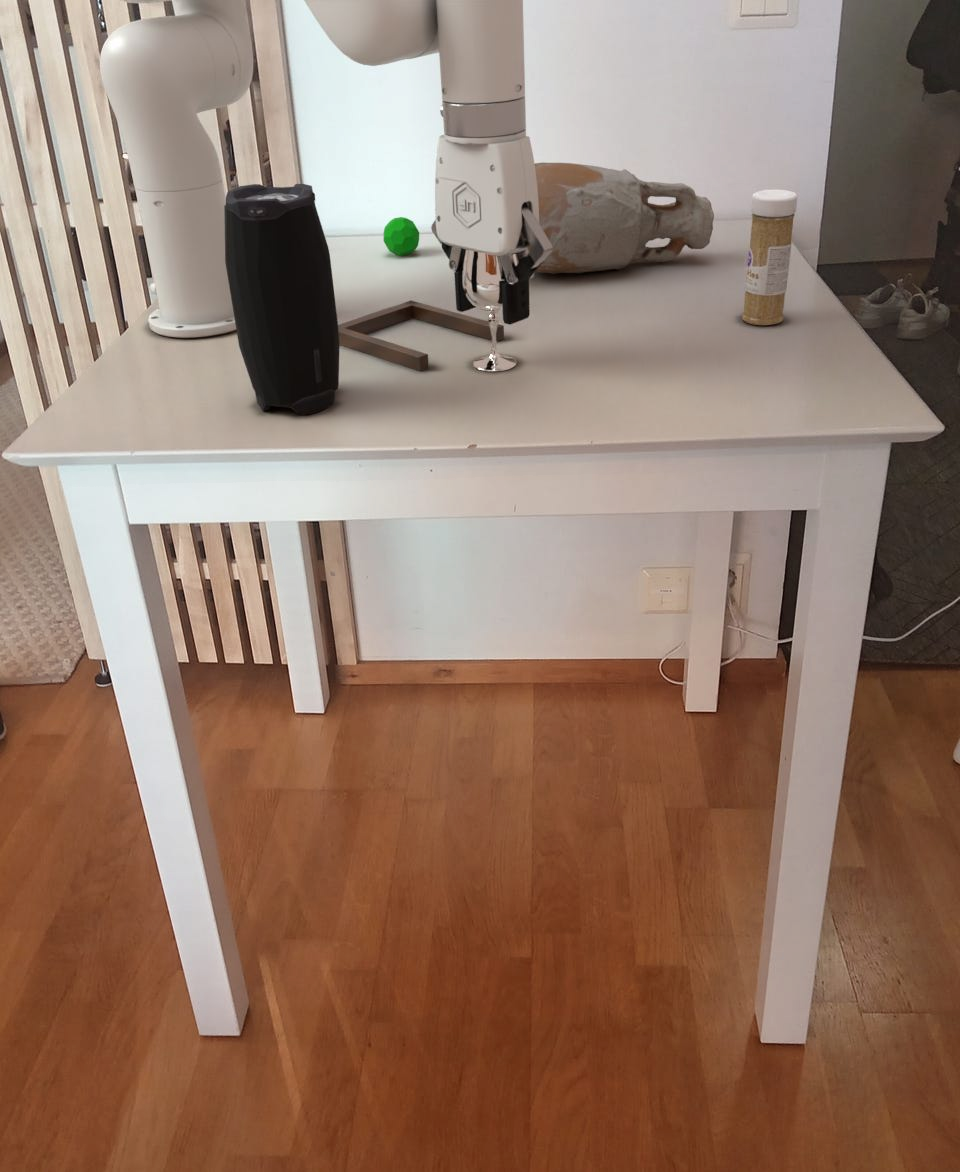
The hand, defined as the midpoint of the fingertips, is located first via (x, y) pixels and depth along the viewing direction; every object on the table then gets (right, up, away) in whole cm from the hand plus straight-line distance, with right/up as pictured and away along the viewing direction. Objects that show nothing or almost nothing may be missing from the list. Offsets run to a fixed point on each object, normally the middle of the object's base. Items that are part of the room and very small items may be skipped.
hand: (492, 312), depth 107 cm
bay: (-8, 0, +10) cm, 13 cm away
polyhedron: (-12, +18, +41) cm, 46 cm away
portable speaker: (-19, -10, -3) cm, 21 cm away
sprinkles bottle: (+30, +2, +11) cm, 32 cm away
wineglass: (0, -5, +3) cm, 6 cm away
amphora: (+13, +13, +30) cm, 35 cm away
